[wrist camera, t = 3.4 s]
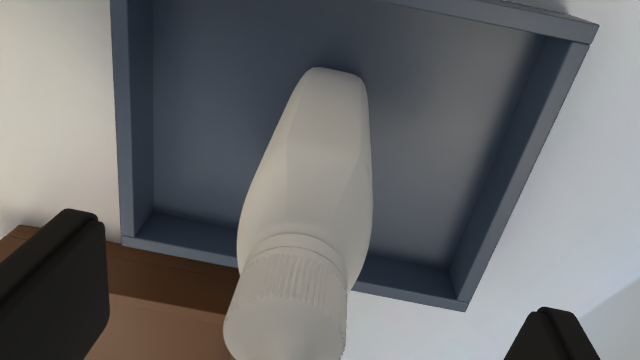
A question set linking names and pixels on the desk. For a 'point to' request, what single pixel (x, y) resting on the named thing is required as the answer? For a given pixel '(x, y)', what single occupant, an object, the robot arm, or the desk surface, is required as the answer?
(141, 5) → the slate tray
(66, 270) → the robot arm
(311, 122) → the eye dropper bottle
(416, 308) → the desk surface
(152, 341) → the walnut tray
